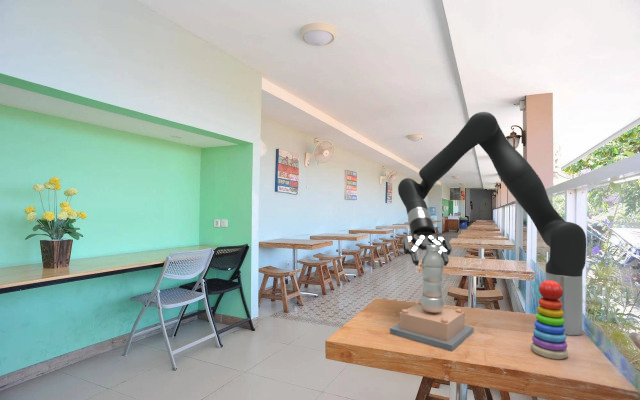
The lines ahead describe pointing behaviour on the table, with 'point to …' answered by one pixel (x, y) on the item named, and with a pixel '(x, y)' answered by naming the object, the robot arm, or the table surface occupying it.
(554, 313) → the stacking toy
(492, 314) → the table surface
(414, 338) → the brick tower base
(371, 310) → the table surface
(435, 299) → the plastic bottle
